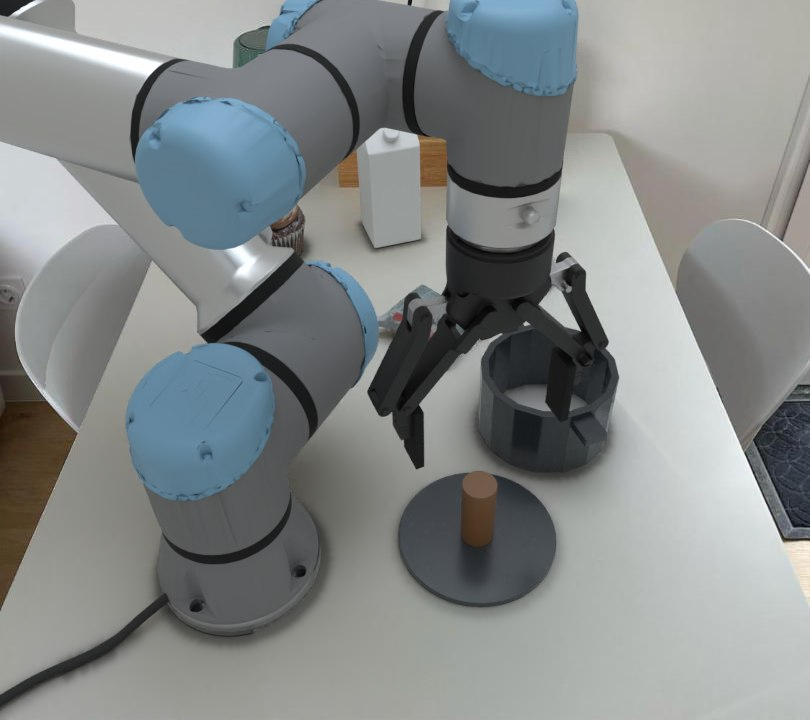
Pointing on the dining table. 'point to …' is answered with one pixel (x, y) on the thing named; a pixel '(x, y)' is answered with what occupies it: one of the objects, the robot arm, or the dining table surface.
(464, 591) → the lid
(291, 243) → the cupcake
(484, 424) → the pot
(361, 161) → the milk carton
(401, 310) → the packaged food
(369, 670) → the dining table surface
